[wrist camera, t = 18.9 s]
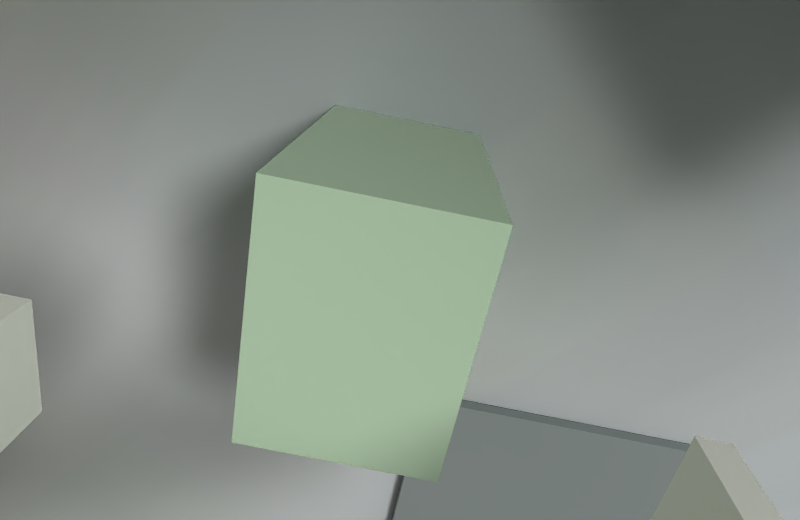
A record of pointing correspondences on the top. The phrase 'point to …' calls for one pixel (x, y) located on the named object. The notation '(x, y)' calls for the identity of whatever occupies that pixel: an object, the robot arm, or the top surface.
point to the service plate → (541, 471)
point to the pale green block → (367, 291)
